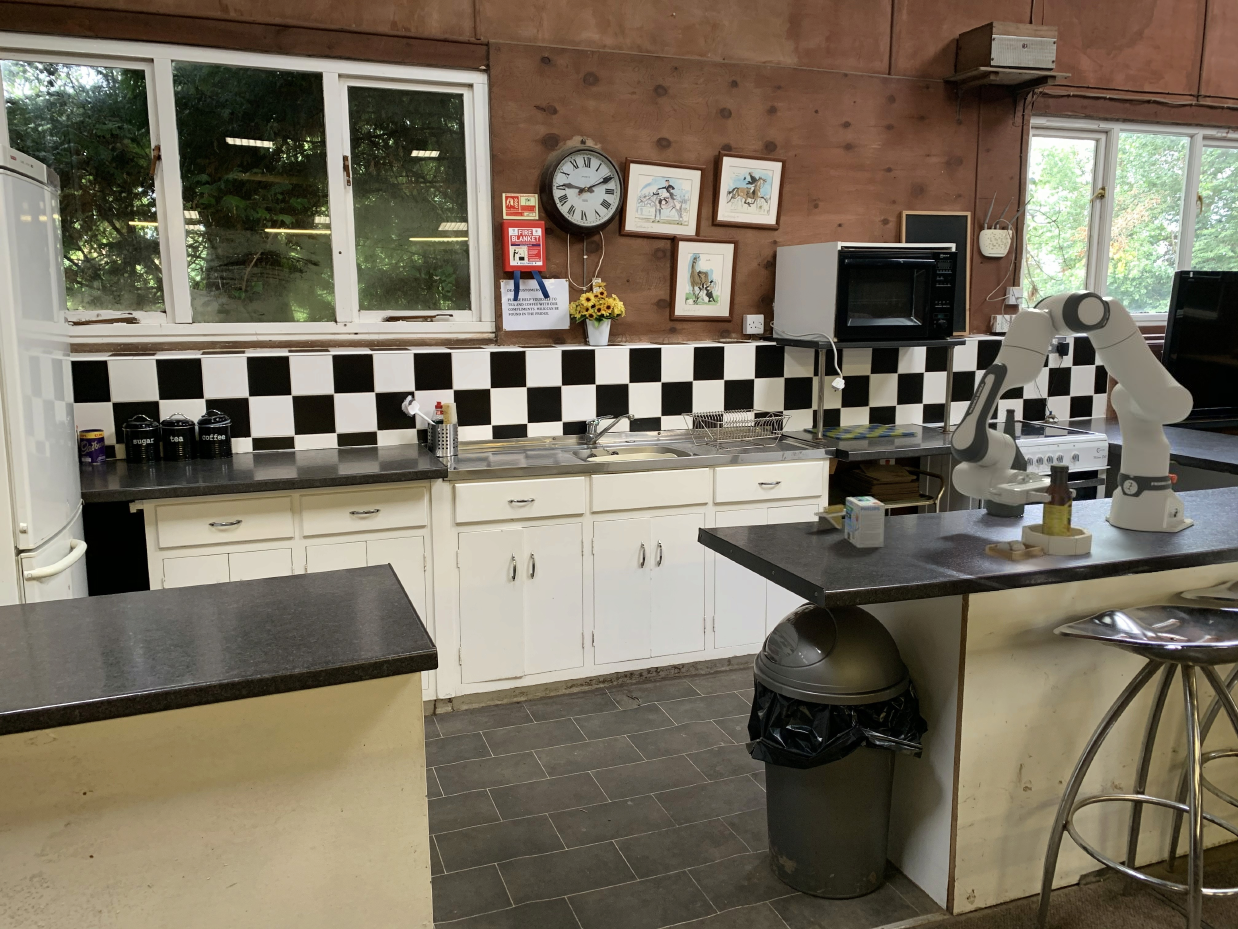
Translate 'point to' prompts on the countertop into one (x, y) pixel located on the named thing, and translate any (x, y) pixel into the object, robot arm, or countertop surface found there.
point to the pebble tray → (1029, 553)
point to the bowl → (1058, 540)
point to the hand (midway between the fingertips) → (1061, 496)
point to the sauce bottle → (1058, 503)
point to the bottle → (1018, 464)
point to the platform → (830, 517)
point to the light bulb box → (864, 522)
